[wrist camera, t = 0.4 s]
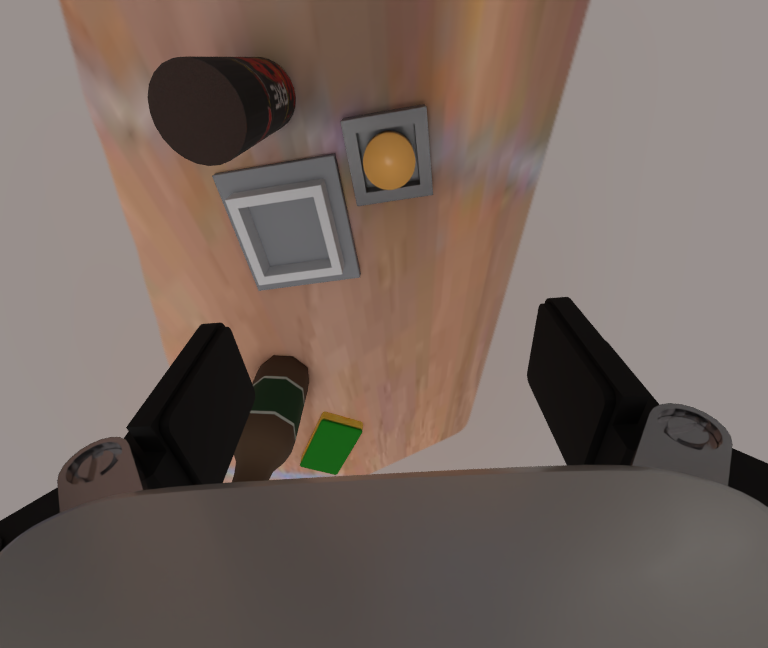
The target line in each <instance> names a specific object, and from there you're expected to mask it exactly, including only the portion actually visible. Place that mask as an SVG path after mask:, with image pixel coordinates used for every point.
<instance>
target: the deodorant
mask: <svg viewBox="0 0 768 648" xmlns="http://www.w3.org/2000/svg"><path fill="white" fill-rule="evenodd" d="M295 99H296V97H295V92H294V87H293V85H292V83H291V80H290V78H289V77H288V75H287V74H286V72H285V71H284V70H283V69H282V68H281V67H280V66H279V65H278V64H276V63H275V62H273V61H271V60H269V59H265V58H261V57H177V58H172V59H170V60H168V61H166V62H164V63H162V64H161V65H160V66H159V67H158V68H157V69H156V71H155V72H154V73H153V76H152V78H151V81H150V83H149V90H148V103H149V109H150V114H151V116H152V119H153V121H154V124H155V127H156V128H157V130H158V131H159V133H160V134H161V136H162V138H163V139H164V140H165V141H166V142H167V143H168V145H169V146H170V147H171V148H172V149H173V150H174V151H176V152H177V153H178V154H180V155H181V156H183V157H184V158H186V159H188V160H190V161H192V162H194V163H197V164H202V165H207V166H213V165H221V164H223V163H226V162H228V161H231V160H232V159H234V158H235V157H237V156H238V155H240V154H241V153H243V152H244V151H246V150H248V149H249V148H251V147H252V146H254V145H255V144H257V143H258V142H260V141H261V140H263V139H265V138H266V137H268V136H269V135H271V134H272V133H274V132H275V131H277V130H279V129H280V128H282V127H283V126H284V125H285V124H287V123H288V122H289V120H290V119H291V117H292V115H293V112H294V109H295Z"/></svg>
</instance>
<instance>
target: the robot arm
mask: <svg viewBox="0 0 768 648" xmlns="http://www.w3.org/2000/svg"><path fill="white" fill-rule="evenodd" d="M527 378H528V383H529V385H530V387H531V389H532V391H533V394H534V396H535V398H536V400H537V402H538V404H539V407H540V409H541V411H542V413H543V415H544V417H545V419H546V421H547V423H548V426H549V428H550V430H551V432H552V434H553V436H554V439H555V440H556V443H557V445H558V447H559V449H560V451H561V453H562V456H563V458H564V460H565V462H566V464H567V465H566V466H538V467H537V466H536V467H511V468H493V469H492V468H490V469H469V470H451V471H430V472H429V471H428V472H410V473H390V474H371V475H353V476H334V477H316V478H299V479H282V480H265V481H248V482H231V483H223V480H224V478H225V475H226V473H227V470H228V468H229V465H230V463H231V460H232V457H233V455H234V452H235V450H236V447H237V445H238V442H239V440H240V437H241V434H242V432H243V429H244V427H245V424H246V422H247V419H248V417H249V414H250V411H251V409H252V406H253V404H254V401H255V390H254V387H253V385H252V382H251V380H250V377H249V375H248V372H247V369H246V367H245V364H244V362H243V359H242V357H241V354H240V352H239V349H238V346H237V344H236V341H235V339H234V336H233V334H232V331H231V329H230V328H229V327H225V325H224V324H223V323H210V324H201V325H200V326H199V328H198V329H197V330H196V332H195V333H194V334H193V336H192V337H191V339H190V340H189V341H188V343H187V344H186V346H185V347H184V348H183V350H182V351H181V352H180V354H179V355H178V357H177V358H176V359H175V361H174V362H173V363H172V365H171V366H170V368H169V369H168V370H167V372H166V373H165V375H164V376H163V377H162V379H161V380H160V382H159V383H158V384H157V386H156V387H155V389H154V390H153V391H152V393H151V394H150V395H149V397H148V398H147V399H146V401H145V402H144V404H143V405H142V406H141V408H140V409H139V411H138V412H137V413H136V415H135V416H134V417H133V419H132V420H131V422H130V423H129V424H128V426H127V427H126V428H127V429H128V431H129V432H128V433H127V435H126V436H125V437H124V439H123V438H121V437H109V438H105V439H101V440H98V441H96V442H93V443H91V444H89V445H88V446H86V447H84V448H83V449H81V450H79V451H78V452H77V453H76V454H74V456H72V457H71V458H70V459H69V460H68V461H67V462H66V463H65V465H64V466H63V467H62V469H61V471H60V473H59V475H58V480H57V483H58V488H56V489H54V490H52V491H51V492H49V493H47V494H46V495H44V496H42V497H40V498H39V499H37V500H35V501H33V502H32V503H30V504H28V505H27V506H25V507H23V508H22V509H20V510H18V511H16V512H15V513H13V514H11V515H9V516H8V517H6V518H4V519H3V520H1V521H0V648H768V463H765V462H763V461H761V460H758V459H756V458H754V457H752V456H749V455H747V454H745V453H742V452H740V451H737V450H735V449H733V448H732V439H731V436H730V434H729V433H728V431H727V430H726V428H725V427H724V426H723V425H722V424H720V423H719V422H718V421H717V420H716V419H714V418H713V417H711V416H710V415H708V414H707V413H705V412H702V411H700V410H698V409H696V408H693V407H689V406H686V405H682V404H672V403H668V404H661V405H659V403H658V402H657V401H656V400H655V399H654V397H653V396H652V395H651V394H650V393H649V391H648V390H647V389H646V388H645V387H644V385H643V384H642V383H641V382H640V381H639V379H638V378H637V377H636V376H635V375H634V373H633V372H632V371H631V370H630V369H629V367H628V366H627V365H626V364H625V363H624V361H623V360H622V359H621V358H620V357H619V355H618V354H617V353H616V352H615V351H614V350H613V348H612V347H611V346H610V345H609V343H608V342H606V341H605V340H604V339H603V338H602V336H601V335H600V334H599V333H598V331H597V330H596V329H595V328H594V327H593V325H592V324H591V323H590V322H589V321H588V320H587V318H586V317H585V316H584V315H583V314H582V312H581V311H580V310H579V308H578V307H577V306H576V305H575V304H574V303H573V301H572V300H571V299H570V298H569V297H560V298H548V299H547V300H546V301H545V304H540V306H539V309H538V315H537V320H536V325H535V331H534V337H533V342H532V348H531V354H530V360H529V365H528V371H527Z"/></svg>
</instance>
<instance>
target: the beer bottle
mask: <svg viewBox="0 0 768 648" xmlns="http://www.w3.org/2000/svg"><path fill="white" fill-rule="evenodd" d="M308 384H309V380H308V369H307V367H306V366H304V365H303V364H302V363H300V362H299V361H298V360H296V359H295V358H294V357H286V356H273V357H272V358H270V359H269V360H268V361H267V362H265V363H264V364H263V365H262V366H260V368H259V370H258V372H257V374H256V376H255V379H254V381H253V383H252V385H253V387H254V390H255V401H254V404H253V406H252V409H251V411H250V414H249V417H248V419H247V422H246V424H245V427H244V429H243V432H242V434H241V437H240V440H239V442H238V445H237V447H236V450H235V452H234V456H235V460H236V467H235V473H234V477H233V480H232V482H248V481H265V480H269V479H270V477H271V475H272V473H273V471H275V470H276V469H277V468H278V467H279V466H281V465H282V464H283V463H284V462H285V461H286V459H287V458H288V457H289V455H290V454H291V452H292V449H293V446H294V443H295V440H296V436H297V432H298V428H299V424H300V420H301V415H302V411H303V407H304V403H305V399H306V395H307V391H308Z"/></svg>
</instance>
